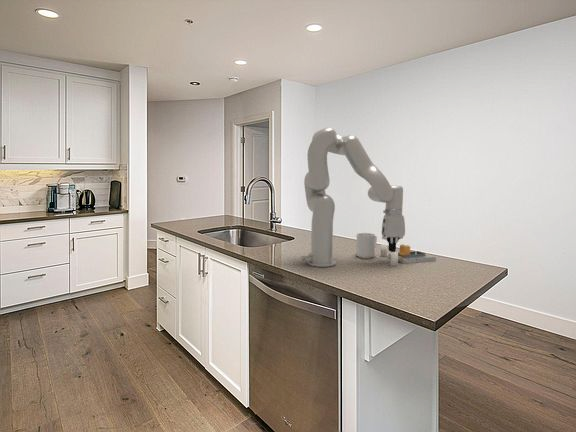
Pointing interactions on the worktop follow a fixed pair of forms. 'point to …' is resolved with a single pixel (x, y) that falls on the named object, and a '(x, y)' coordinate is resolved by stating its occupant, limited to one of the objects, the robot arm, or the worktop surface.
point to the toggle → (404, 249)
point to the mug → (366, 245)
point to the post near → (394, 259)
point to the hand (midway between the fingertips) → (392, 251)
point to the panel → (414, 257)
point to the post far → (384, 250)
